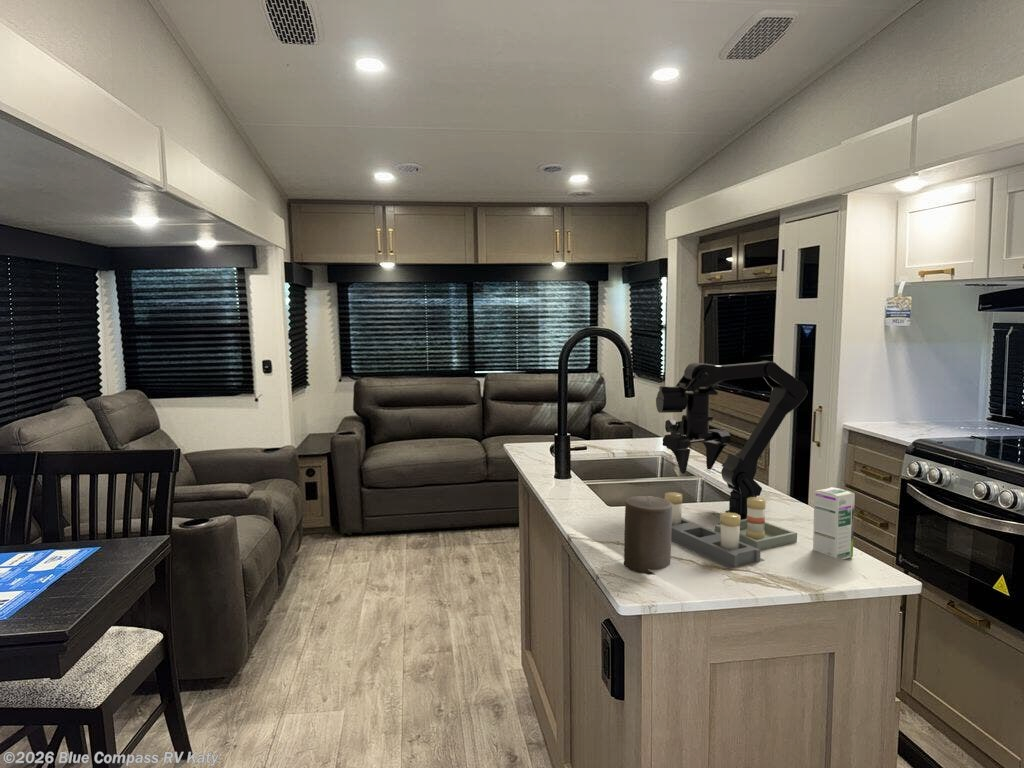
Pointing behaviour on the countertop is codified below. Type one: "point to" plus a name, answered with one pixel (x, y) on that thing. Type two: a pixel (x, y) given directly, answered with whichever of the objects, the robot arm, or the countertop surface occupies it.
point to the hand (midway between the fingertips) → (696, 471)
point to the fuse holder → (712, 545)
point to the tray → (772, 536)
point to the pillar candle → (647, 533)
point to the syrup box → (834, 522)
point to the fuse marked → (755, 518)
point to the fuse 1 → (675, 506)
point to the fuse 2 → (730, 531)
